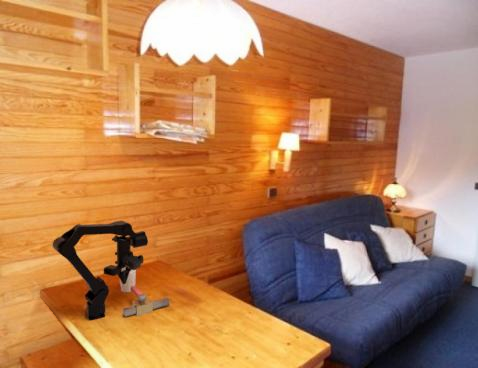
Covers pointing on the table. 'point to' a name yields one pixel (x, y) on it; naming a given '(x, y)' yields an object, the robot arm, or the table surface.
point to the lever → (138, 293)
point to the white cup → (129, 282)
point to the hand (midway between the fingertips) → (124, 283)
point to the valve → (145, 306)
